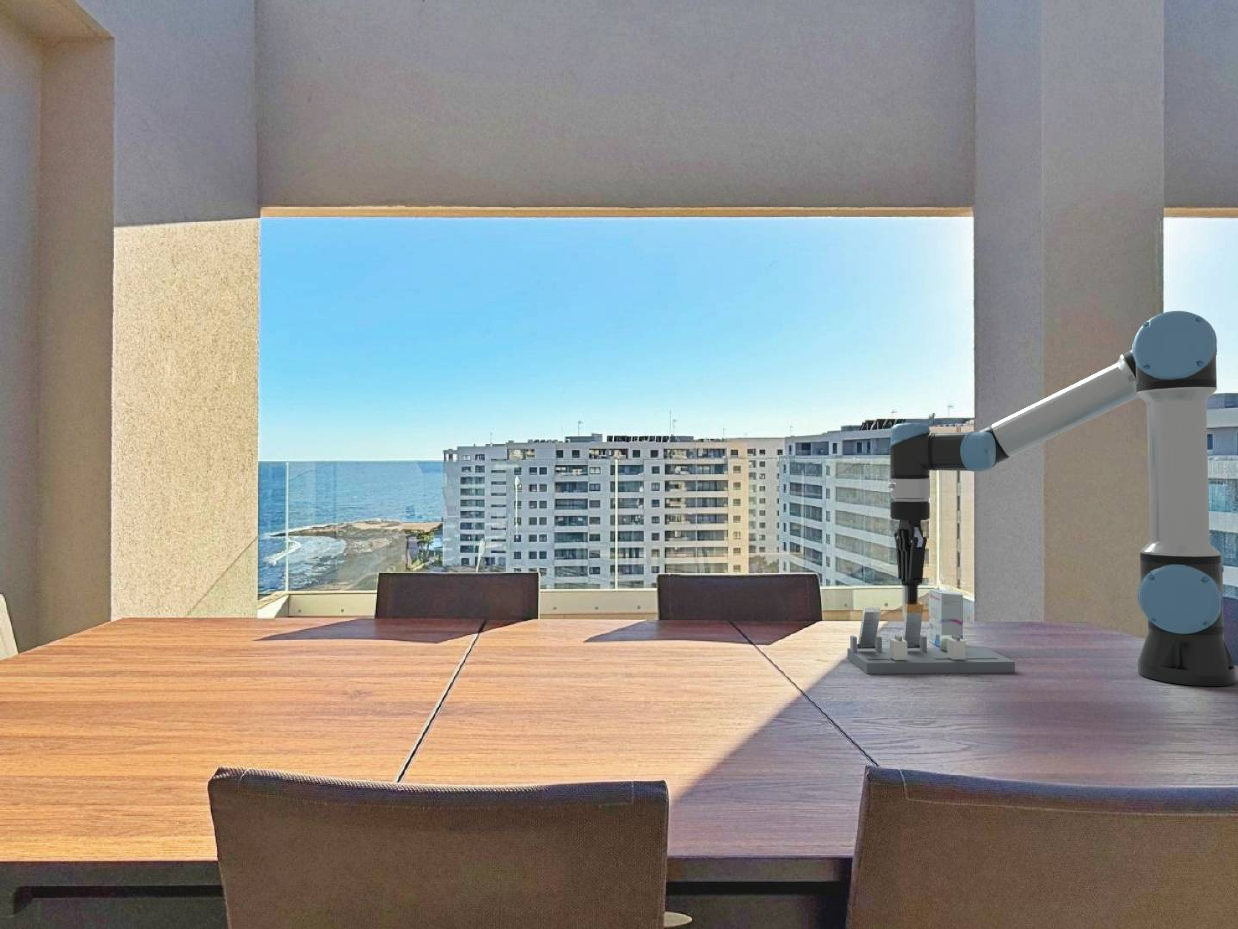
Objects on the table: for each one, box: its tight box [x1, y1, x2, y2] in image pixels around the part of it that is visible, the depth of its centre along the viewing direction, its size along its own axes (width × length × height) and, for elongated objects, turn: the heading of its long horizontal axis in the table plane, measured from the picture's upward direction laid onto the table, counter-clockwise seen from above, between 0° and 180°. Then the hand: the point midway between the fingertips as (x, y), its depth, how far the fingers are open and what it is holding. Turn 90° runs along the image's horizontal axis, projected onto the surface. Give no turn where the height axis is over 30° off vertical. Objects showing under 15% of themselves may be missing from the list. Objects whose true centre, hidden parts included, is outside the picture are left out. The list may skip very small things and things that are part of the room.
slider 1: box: [889, 635, 907, 660], centre depth 168 cm, size 2×3×4 cm
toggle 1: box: [857, 607, 882, 649], centre depth 174 cm, size 3×1×10 cm, turn 90°
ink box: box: [928, 588, 964, 648], centre depth 192 cm, size 9×5×12 cm, turn 179°
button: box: [939, 635, 961, 651], centre depth 176 cm, size 4×4×2 cm
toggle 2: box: [902, 601, 925, 648], centre depth 175 cm, size 3×1×10 cm, turn 90°
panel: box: [846, 634, 1016, 675], centre depth 172 cm, size 28×14×5 cm, turn 90°
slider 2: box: [947, 635, 966, 660], centre depth 168 cm, size 2×3×4 cm
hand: (910, 617), depth 176 cm, fingers closed
